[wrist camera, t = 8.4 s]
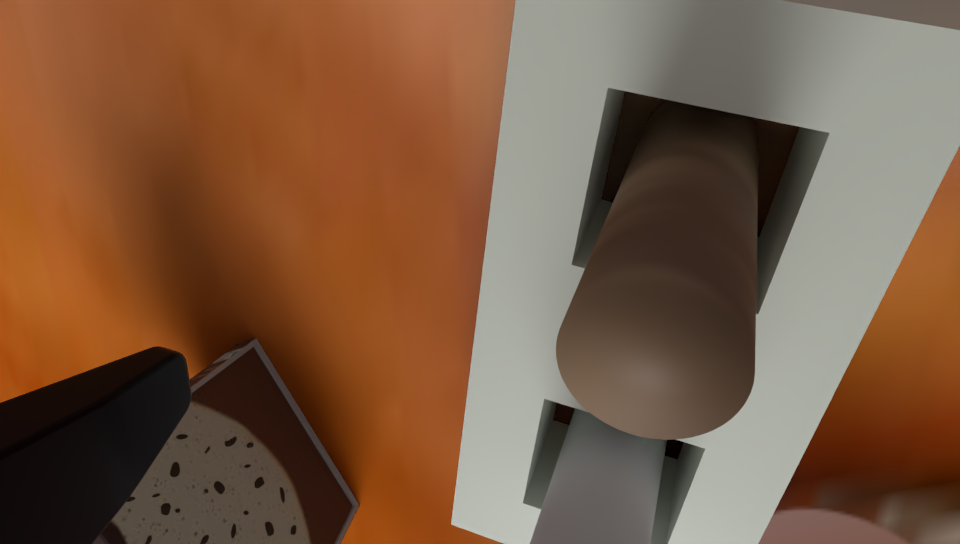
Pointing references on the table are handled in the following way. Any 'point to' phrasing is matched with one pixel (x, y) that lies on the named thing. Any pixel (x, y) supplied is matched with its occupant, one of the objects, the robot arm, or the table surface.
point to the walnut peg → (671, 282)
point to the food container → (238, 468)
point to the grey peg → (601, 486)
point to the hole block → (780, 247)
